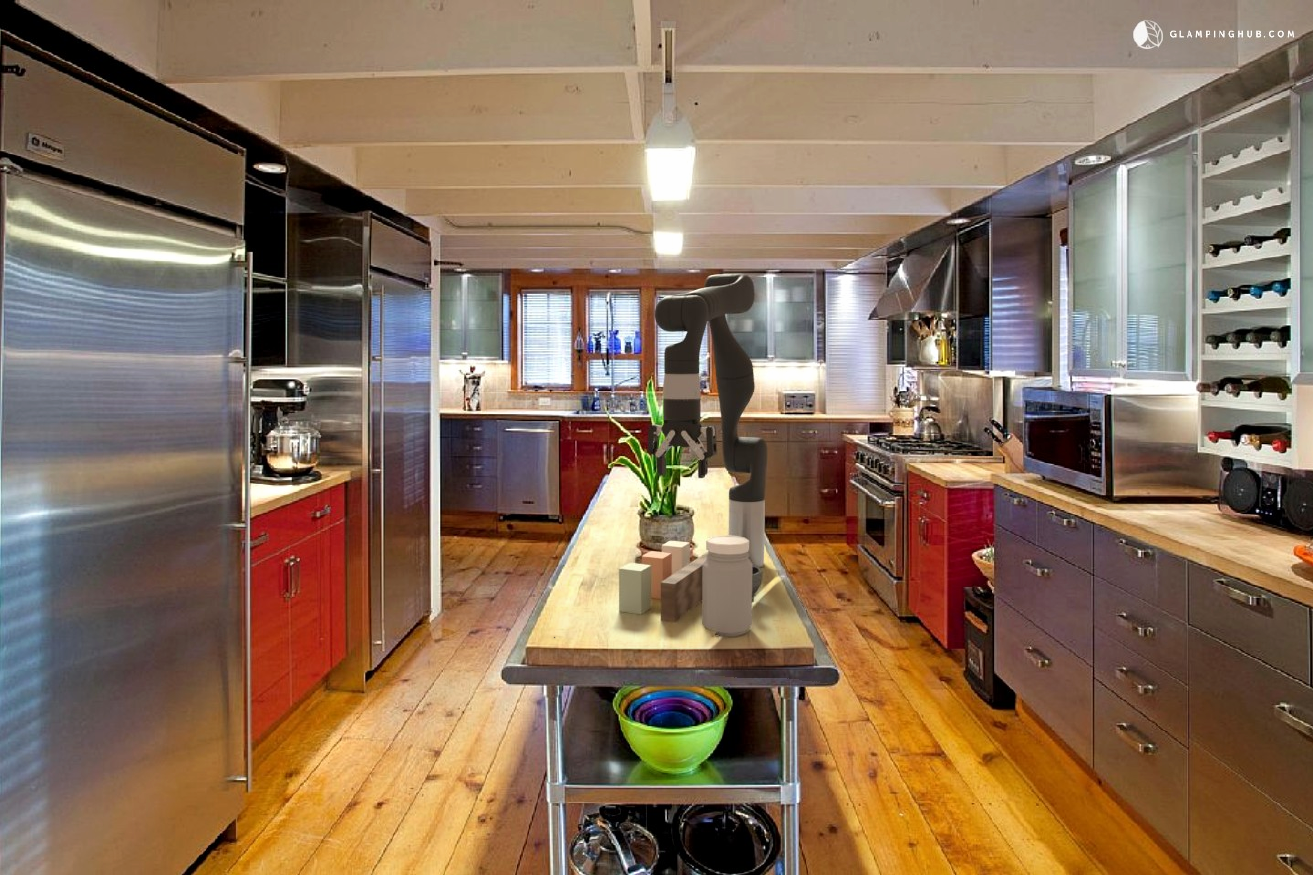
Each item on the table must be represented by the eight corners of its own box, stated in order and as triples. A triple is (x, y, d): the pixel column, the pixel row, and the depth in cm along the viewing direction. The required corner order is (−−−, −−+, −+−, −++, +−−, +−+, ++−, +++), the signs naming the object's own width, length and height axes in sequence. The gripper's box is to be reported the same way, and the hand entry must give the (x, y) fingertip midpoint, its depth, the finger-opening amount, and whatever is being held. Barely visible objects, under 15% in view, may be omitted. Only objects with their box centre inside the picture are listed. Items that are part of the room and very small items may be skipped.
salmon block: (651, 590, 173) (651, 550, 172) (671, 592, 171) (671, 553, 170) (641, 596, 168) (641, 556, 168) (662, 599, 166) (662, 558, 166)
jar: (747, 621, 156) (748, 534, 155) (755, 638, 147) (756, 545, 145) (699, 621, 156) (700, 534, 154) (704, 638, 146) (705, 545, 145)
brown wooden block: (655, 579, 186) (655, 542, 185) (723, 587, 179) (724, 550, 178) (596, 616, 159) (596, 574, 158) (674, 628, 152) (674, 583, 151)
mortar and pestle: (716, 593, 175) (717, 541, 174) (757, 593, 175) (758, 541, 174) (721, 609, 164) (722, 554, 163) (765, 609, 164) (766, 554, 163)
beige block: (670, 577, 183) (670, 540, 182) (689, 580, 181) (689, 542, 180) (661, 583, 178) (661, 545, 178) (681, 585, 176) (681, 547, 176)
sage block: (629, 604, 163) (629, 562, 162) (651, 607, 161) (651, 565, 160) (619, 611, 158) (618, 568, 158) (641, 614, 156) (641, 571, 156)
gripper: (721, 396, 155) (721, 476, 157) (657, 395, 161) (657, 472, 162) (708, 398, 148) (708, 481, 150) (641, 396, 154) (642, 477, 156)
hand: (681, 476), depth 156 cm, fingers open, 8 cm apart
